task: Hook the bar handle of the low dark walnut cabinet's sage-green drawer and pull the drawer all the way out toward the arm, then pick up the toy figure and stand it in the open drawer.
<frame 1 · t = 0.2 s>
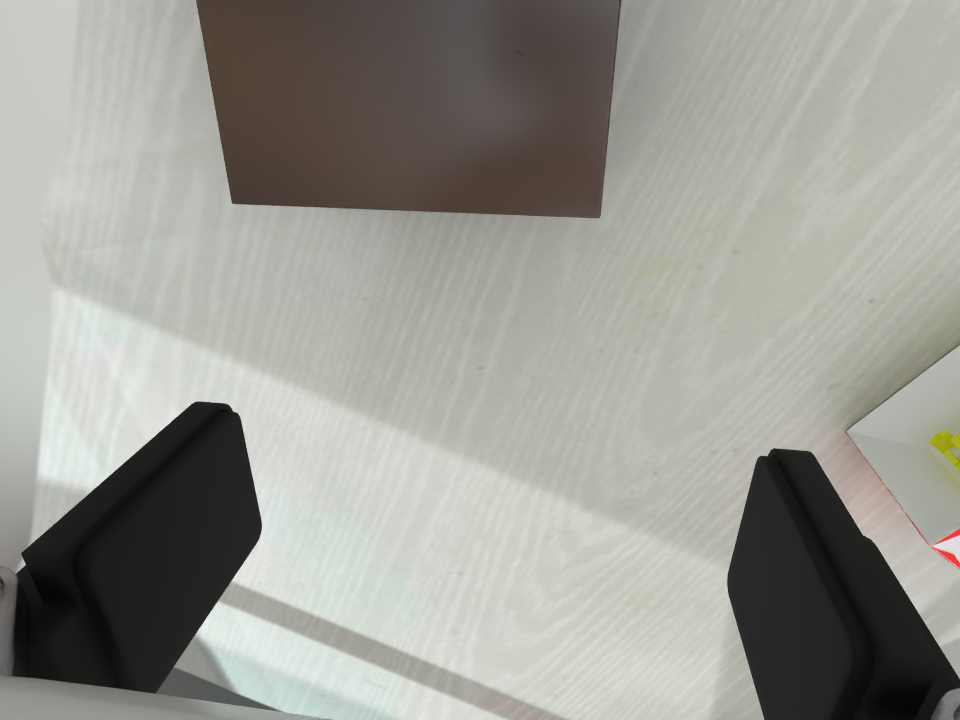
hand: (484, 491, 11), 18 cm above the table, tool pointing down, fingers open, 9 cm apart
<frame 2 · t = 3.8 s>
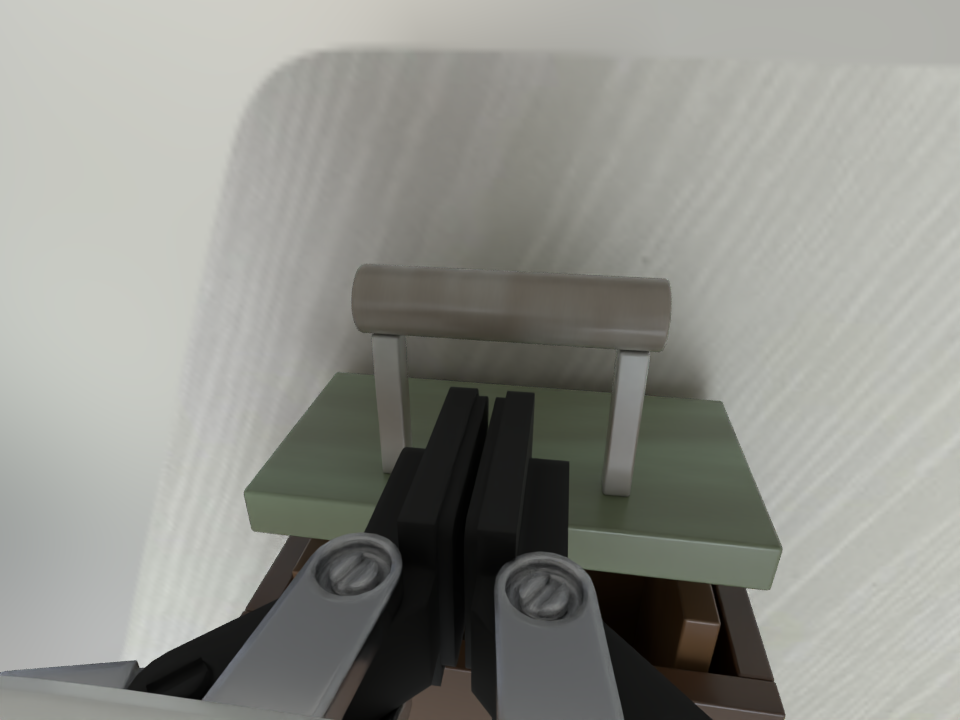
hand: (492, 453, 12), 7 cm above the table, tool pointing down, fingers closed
drawer: (507, 566, 17), point 4 cm above the table, slide at 2.5 cm, touching gripper
cabinet: (513, 619, 23), on the table
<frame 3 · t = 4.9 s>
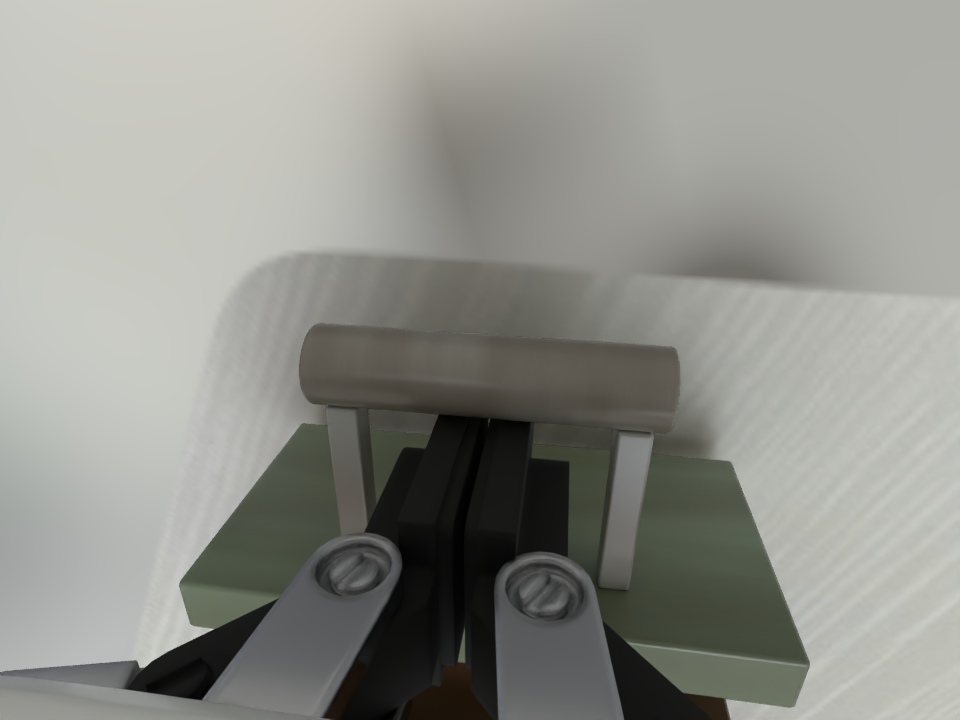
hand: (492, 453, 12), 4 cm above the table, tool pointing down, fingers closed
drawer: (490, 646, 15), point 4 cm above the table, slide at 6.7 cm, touching gripper
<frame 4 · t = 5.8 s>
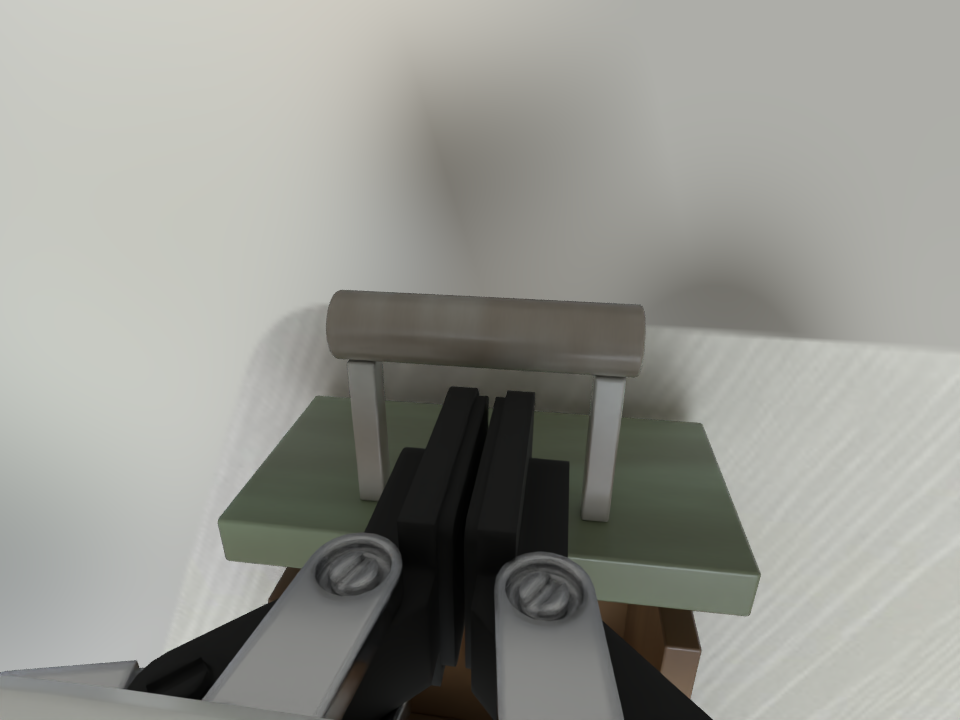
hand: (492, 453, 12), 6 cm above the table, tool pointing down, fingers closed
drawer: (488, 591, 17), point 4 cm above the table, slide at 8.7 cm
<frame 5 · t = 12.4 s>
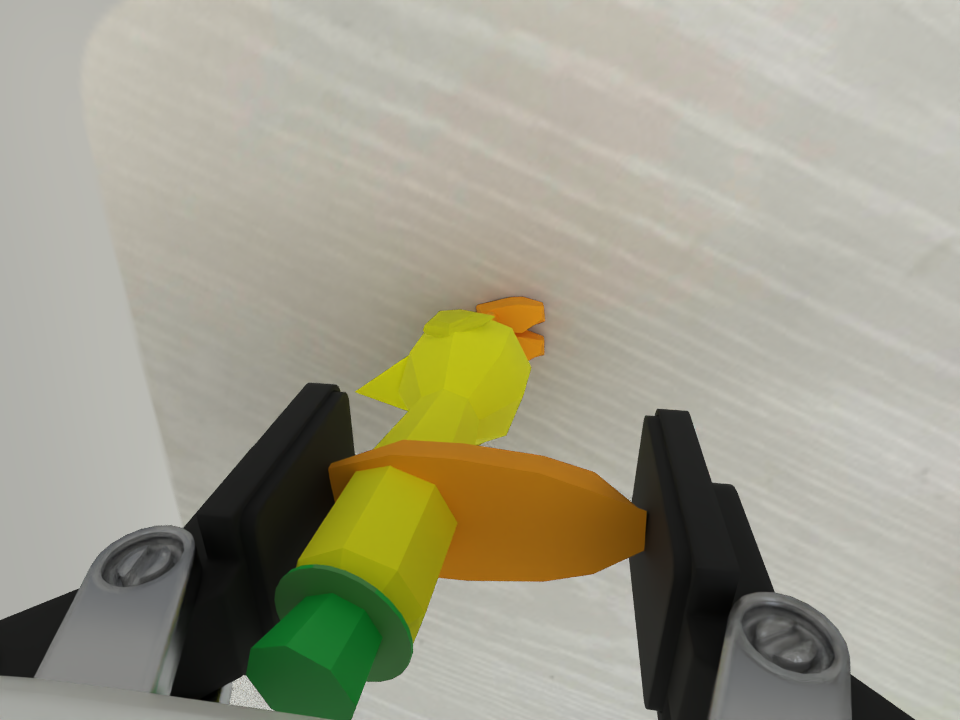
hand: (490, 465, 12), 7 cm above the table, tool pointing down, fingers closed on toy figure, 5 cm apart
toy figure: (518, 325, 18), on the table, touching gripper
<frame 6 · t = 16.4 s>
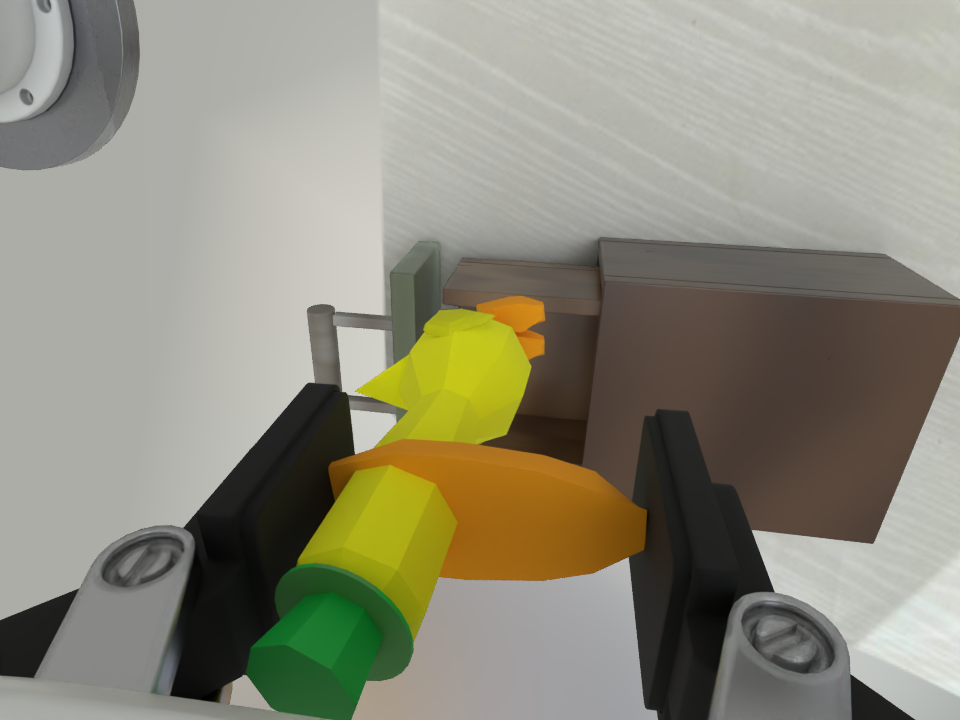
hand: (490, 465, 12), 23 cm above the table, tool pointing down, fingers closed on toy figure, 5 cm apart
drawer: (485, 361, 33), point 4 cm above the table, slide at 8.7 cm
toy figure: (518, 324, 18), point 16 cm above the table, touching gripper
cabinet: (715, 352, 34), on the table
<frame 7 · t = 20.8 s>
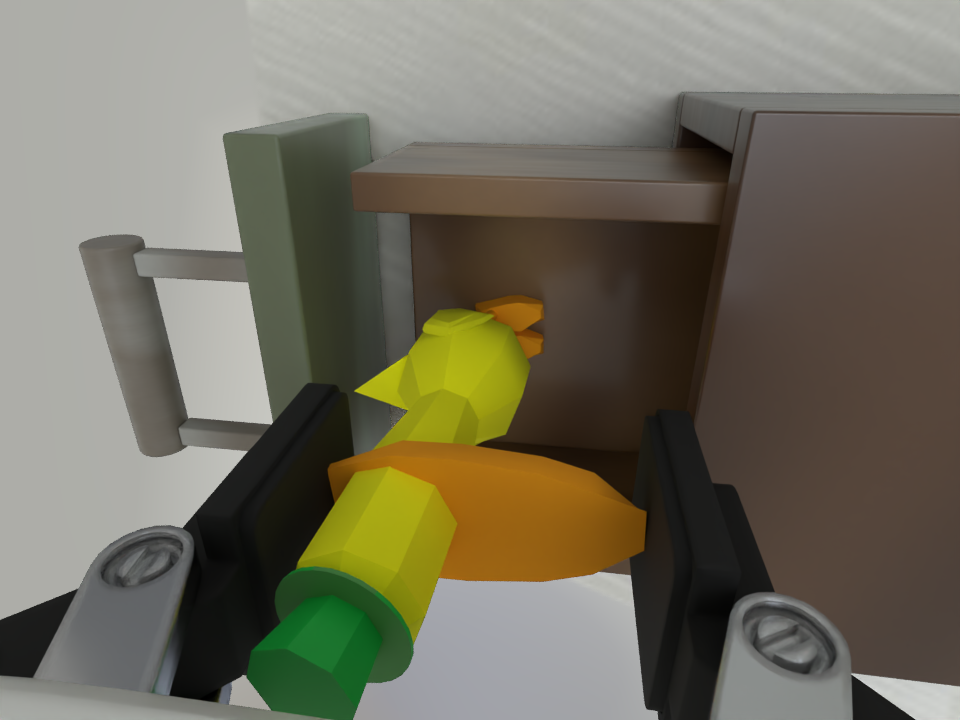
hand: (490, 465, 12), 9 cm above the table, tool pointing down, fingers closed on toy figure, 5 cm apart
drawer: (462, 347, 16), point 4 cm above the table, slide at 8.5 cm, touching toy figure
toy figure: (517, 323, 18), point 2 cm above the table, touching drawer, gripper
cabinet: (895, 321, 18), on the table
when the fingers open (9 cm above the table, at t = 20.8 s): toy figure stays where it is, resting on drawer.
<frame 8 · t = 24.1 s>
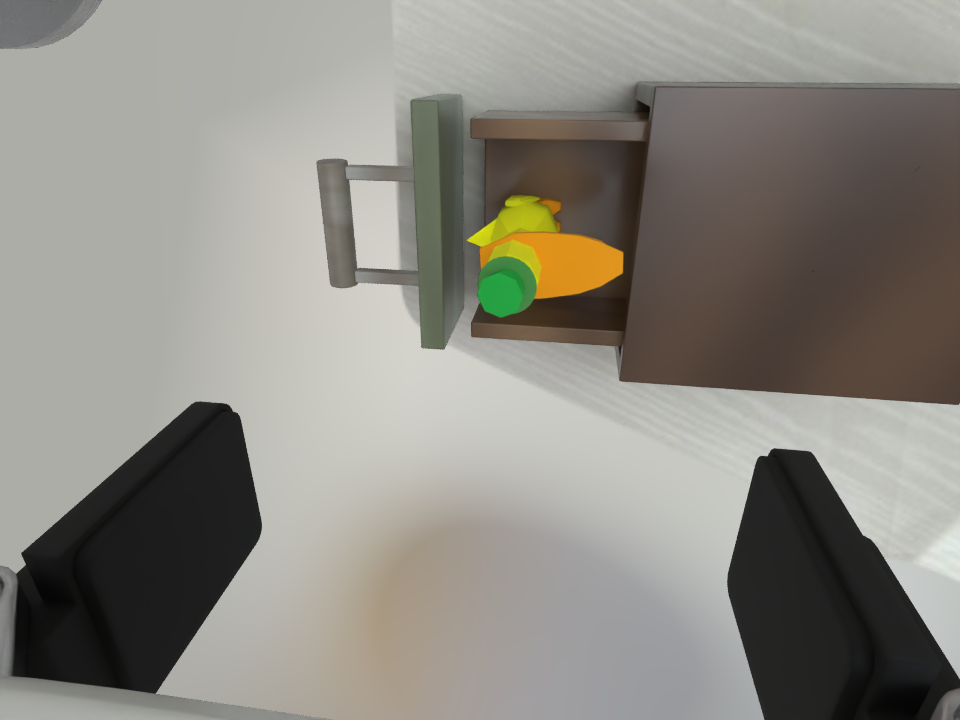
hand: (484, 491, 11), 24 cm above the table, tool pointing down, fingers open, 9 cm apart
drawer: (515, 224, 29), point 4 cm above the table, slide at 8.5 cm, touching toy figure
toy figure: (545, 216, 31), point 2 cm above the table, touching drawer
cabinet: (766, 216, 31), on the table
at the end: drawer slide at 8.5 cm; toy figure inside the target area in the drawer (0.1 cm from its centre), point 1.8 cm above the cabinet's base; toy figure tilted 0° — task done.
